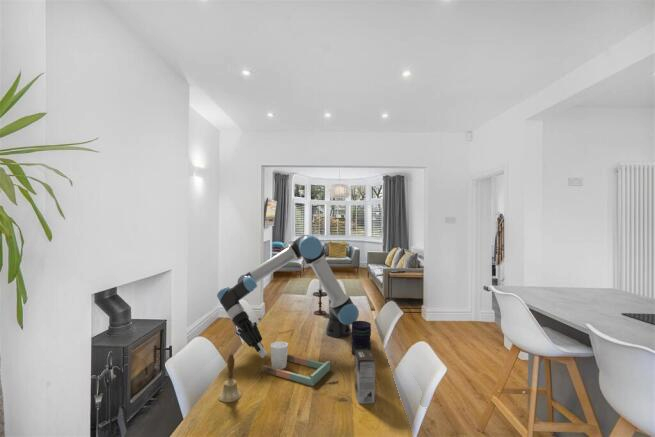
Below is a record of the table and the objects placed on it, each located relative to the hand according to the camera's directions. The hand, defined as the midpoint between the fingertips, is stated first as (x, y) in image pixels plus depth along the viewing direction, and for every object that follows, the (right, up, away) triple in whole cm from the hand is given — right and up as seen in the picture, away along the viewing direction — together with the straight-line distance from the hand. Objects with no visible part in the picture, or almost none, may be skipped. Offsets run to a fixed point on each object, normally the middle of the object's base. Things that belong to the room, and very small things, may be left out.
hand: (264, 355), depth 147 cm
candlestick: (+24, -4, +79) cm, 83 cm away
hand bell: (-7, -3, -29) cm, 30 cm away
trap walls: (+15, -3, -7) cm, 17 cm away
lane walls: (+7, -3, -4) cm, 9 cm away
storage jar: (+47, -4, +11) cm, 48 cm away
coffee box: (+44, -3, -28) cm, 52 cm away
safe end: (+22, -3, -11) cm, 25 cm away
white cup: (+7, -3, -4) cm, 9 cm away
